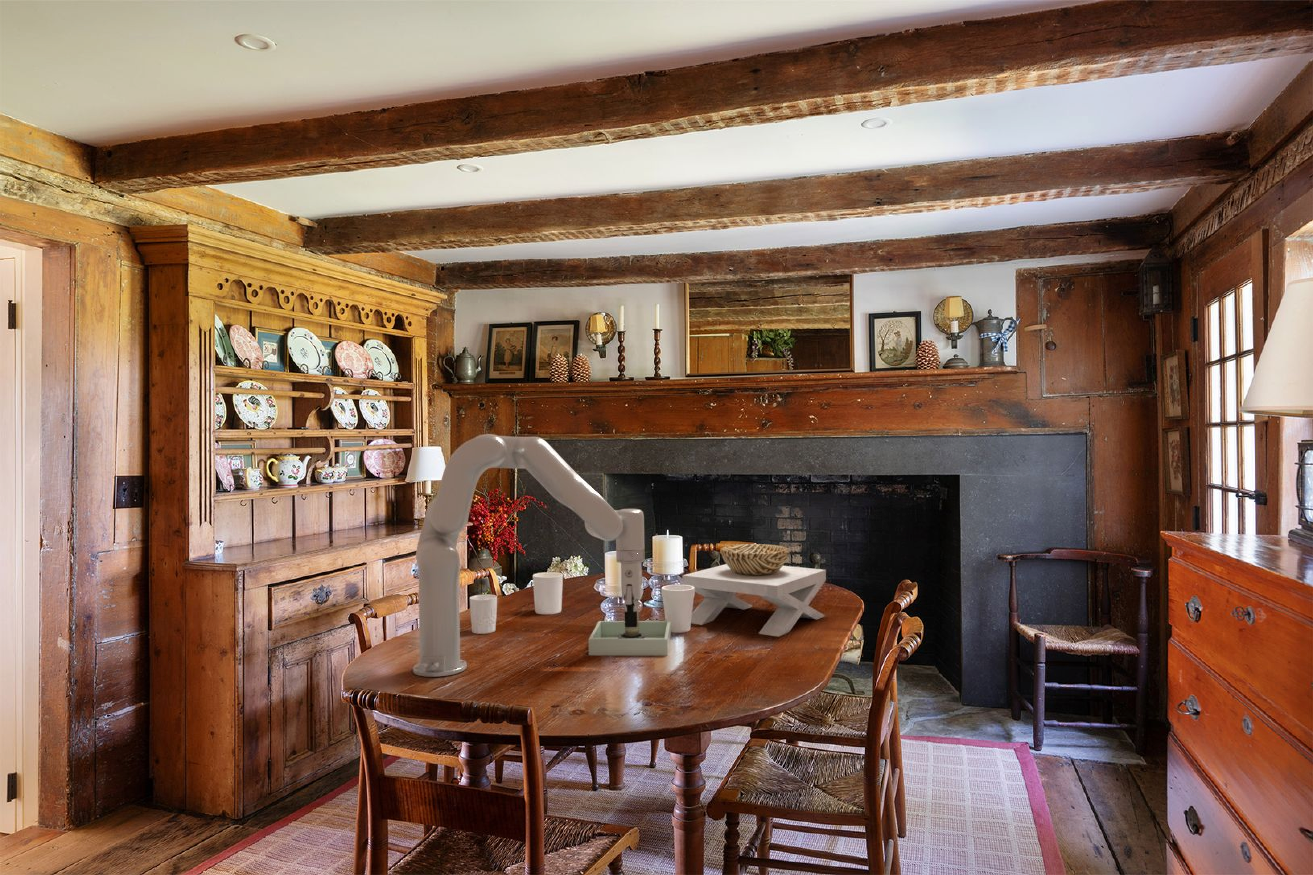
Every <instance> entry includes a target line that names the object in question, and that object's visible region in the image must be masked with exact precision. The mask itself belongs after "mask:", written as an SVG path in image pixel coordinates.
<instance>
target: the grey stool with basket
mask: <svg viewBox="0 0 1313 875" xmlns="http://www.w3.org/2000/svg"><path fill="white" fill-rule="evenodd" d="M720 553H721V557H722V559H723V561H724V562H725V564H721V565H718V566H717V565H716V566H715V567H714V566H713V567H710V568H706V569H701V570H698V571H694V572H691V573H686V574H682V575H681V576H682V585H690V586H693V587H695V594H699V595H700V596H703V597H704V599H703V600H702V601H701V602H700V603H699V604H698V605H697V607H696V608H695V609H694V610H692V617H691V624H694V625H699V626H702V625H706V624H708V623H711V622H714V621H715V619H716V618H717V617H718V616H719V615H720V613H721V612H722V611H723V610H724V608H727V609H728V608H729V609H735V610H736V609H737V610H741V611H742V610H747V609H750V608H753V607H754V606H753V605H752V604H750V603H748V602H745V601H744V600H742V599H740V598H738V597H736V594H737V593H738V594H744V595H754V596H758V597H760V598H761V599H763V600H765V601H767V602H770V603H771V604H773V605H774V606H777V608H776V609H775V611H774V612H773V614H772V615H771V616H770V617H769V618H768V620H767V622H766V623H765V624H764V625H763V627H762V628H761V629H760V631H759V632H758V634H759V635H766V636H772V637H782V636H783V635H786V634H788V633H790V632H791V630H792V629H793V627H794V626H795V624H796V623H797V621H798V620H799V619H800V618H801V619H808V620H815V621H816V620H819V619H821V618H824V617H826V615H825V614H823V613H821V612H820V611H818V610H817V609H815V608H813V607H812V606H810V603H811V602H812V600H813V599H814V598H815V596H816V595H817V593H818V592H819V591H820V589H821V588H822V586H823V585H824V583H826V581H827V575H826V574H827V569H821V568H809V567H800V566H799V567H798V566H790V565H789V566H788V565H784V564H785V563H786V562H787V560H788V558H789V554H790V550H789V548H787V547H786V546H781V545H778V544H777V545H776V544H761V543H758V544H757V543H749V544H748V543H747V544H746V543H745V544H733V545H727V546H724V547H722V548H721V550H720Z"/></svg>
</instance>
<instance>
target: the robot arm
mask: <svg viewBox="0 0 1313 875" xmlns="http://www.w3.org/2000/svg"><path fill="white" fill-rule="evenodd" d="M493 468H495V469H496V468H497V469H522V470H523V469H524V470H526V471H527V472H528V473H530V475H531V476H532V477H533V478H534V479H535V480H536V481H537V482H538V483H539V484H540V485H541V487H543V488H544V490H546V491H547V492H548V493H549V494H550V496H552V497H553V498H554V500H556V501H557V502H559V503H560V504H561V505H563V506H565V507H567V508H569V509H570V510H571V511H573V512H574V513H575V514H576V515H577V516H578V517H579V518H581V520H583V521H584V527H585V530H586V531H587V533H588V534H589V535H591V536H592V537H595V538H597V539H600V540H602V541H604V542H605V541H606V542H611V541H615V545H616V546H615V548H616V549H615V551H616V552H615V554H616V557H615V559H616V560H615V561H616V563H619V564H620V584H621V586H620V587H621V589H620V591H621V599H622V601H624V621H625V627H637V611H636V599H638V602H639V601H640V600H642V597H643V593H644V591H643V590H644V588H643V569H642V563H643V562H645V550H646V549H645V516H644V511H643V510H642V509H638V508H622V509H619V510H618V509H614V508H613V507H612V506H611V505H610V504H609V503H608V502H607V501H606V500H605V498H603V496H602V495H600V494H599V493H598V491H596V490H595V489H594V488H592V486H591V485H590V484H589V483H588V482H586V481H585V480H584V479H583V477H581V476H580V475H579V474H578V473H577V472H576V471H575V470H574V469H573V468H572V467H571V466H570V465H569V464H568V463H567V462H566V461H565V460H564V458H563V457H562V456H561V455H560V454H559V453H558V452H557V451H556V450H555V449H554V448H553V447H552V446H551V444H549V443H548V442H547V441H546V440H544V439H543V438H541V437H539V436H507V435H497V434H493V433H485V434H479V435H477V436H475V437H474V438H471V439H468V440H467V441H464V443H462V444H461V445H460V446H458V447H457V449H455V450H454V451H453V453H451V455H450V458H449V459H448V460H447V463H446V465H445V467H444V469H443V474H442V477H441V480H440V483H439V485H438V486H439V487H438V490H437V494H436V496H435V497H434V499H432V500H431V501H430V503H429V505H428V506H427V508H426V511H425V515H424V519H423V523H422V527H421V530H420V533H419V539H418V542H417V546H416V551H415V552H416V553H415V559H416V563H417V565H418V614H419V615H418V623H419V625H418V627H419V628H418V632H419V636H418V637H419V662H418V663H415V664H414V666H413V667H412V672H413V674H415V675H416V676H419V677H427V678H429V677H430V678H432V677H433V678H434V677H435V678H437V677H446V676H451V675H452V676H453V675H456V674H459V673H461V672H463V671H466V669H467V665H468V664H467V661H466V660H463V659H461V634H460V633H461V630H460V628H461V627H460V626H461V624H460V621H461V620H460V617H461V616H460V579H461V578H460V577H461V576H460V575H461V558H460V555H459V554H460V553H459V552H458V549H457V547H458V541H459V536H460V534H461V532H462V531H463V530H464V529H465V527H467V524H468V521H469V517H470V512H471V507H472V503H473V500H474V499H473V498H474V493H475V491H476V489H477V484H478V482H479V479H480V477H481V476H482V475H483V473H484V472H486V470H488V469H493ZM637 553H638V554H637ZM632 597H634V600H632ZM632 602H633V603H632Z"/></svg>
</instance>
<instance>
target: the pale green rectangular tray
mask: <svg viewBox="0 0 1313 875" xmlns="http://www.w3.org/2000/svg"><path fill="white" fill-rule="evenodd" d="M622 633H625V620H599V621H597V623H596V625H595V626H594V628H593V631H592V633H591V634H590V636H589V638H588V656H668V655H669V649H670V643H671V636H672V632H671V622H670V621H666V620H660V621H659V620H639V633H643V634H645V639H618V635H619V634H622Z"/></svg>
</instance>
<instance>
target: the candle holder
mask: <svg viewBox="0 0 1313 875" xmlns="http://www.w3.org/2000/svg"><path fill="white" fill-rule="evenodd" d="M563 578H564V573H562V572H554V571H550V572H549V571H548V572H545V571H544V572H537V573H533V575H532V582H533V583H532V585H533V599H534V611H535V613H536V614H538V615H555V614H558V613H561V612H562V607H563V606H562V604H563V603H562V602H563V581H564V579H563Z"/></svg>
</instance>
